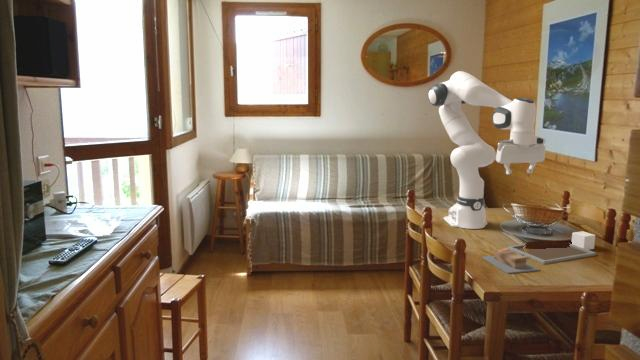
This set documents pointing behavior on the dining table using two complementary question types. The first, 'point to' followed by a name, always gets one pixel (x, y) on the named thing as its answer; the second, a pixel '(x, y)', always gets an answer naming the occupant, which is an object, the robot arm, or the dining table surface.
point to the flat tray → (552, 253)
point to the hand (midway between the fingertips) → (519, 173)
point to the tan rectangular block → (510, 258)
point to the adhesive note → (583, 240)
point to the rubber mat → (507, 268)
